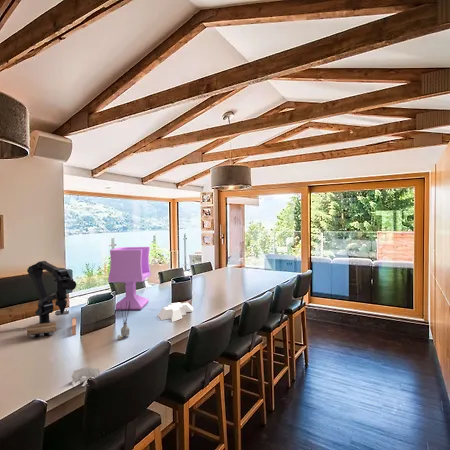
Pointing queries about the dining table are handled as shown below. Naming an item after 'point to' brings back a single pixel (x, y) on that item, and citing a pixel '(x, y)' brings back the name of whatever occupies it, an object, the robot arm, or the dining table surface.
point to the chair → (130, 273)
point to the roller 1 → (32, 335)
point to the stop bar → (74, 326)
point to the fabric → (83, 375)
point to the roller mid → (41, 334)
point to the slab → (41, 328)
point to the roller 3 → (60, 312)
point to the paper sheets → (175, 311)
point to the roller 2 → (50, 333)
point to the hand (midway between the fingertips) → (62, 313)
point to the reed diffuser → (124, 325)
